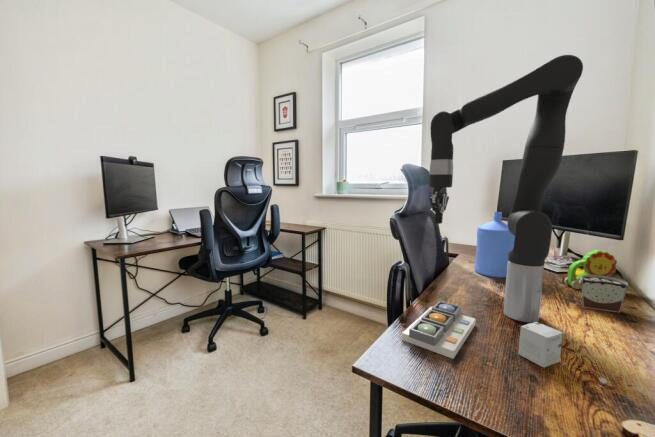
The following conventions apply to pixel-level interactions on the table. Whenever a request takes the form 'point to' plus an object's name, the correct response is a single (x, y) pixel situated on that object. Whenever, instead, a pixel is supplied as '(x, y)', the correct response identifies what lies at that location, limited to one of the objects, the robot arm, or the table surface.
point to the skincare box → (540, 344)
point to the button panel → (441, 331)
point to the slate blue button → (447, 308)
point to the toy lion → (591, 267)
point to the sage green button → (427, 329)
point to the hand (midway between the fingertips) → (438, 223)
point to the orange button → (437, 317)
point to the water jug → (493, 247)
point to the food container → (603, 292)
